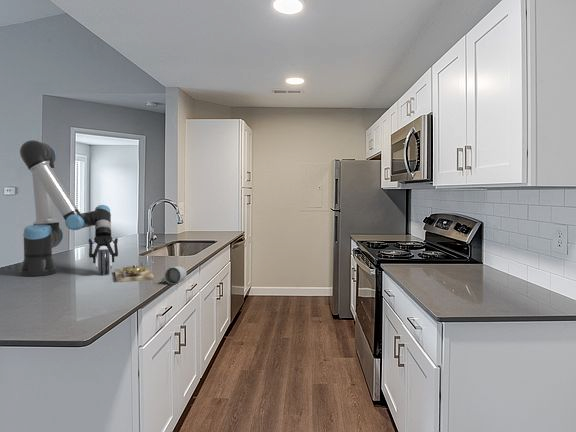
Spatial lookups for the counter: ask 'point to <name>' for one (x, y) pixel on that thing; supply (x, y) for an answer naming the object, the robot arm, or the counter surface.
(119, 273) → the board
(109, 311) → the counter surface
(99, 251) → the pinion
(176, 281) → the ceramic mug
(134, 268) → the gear
